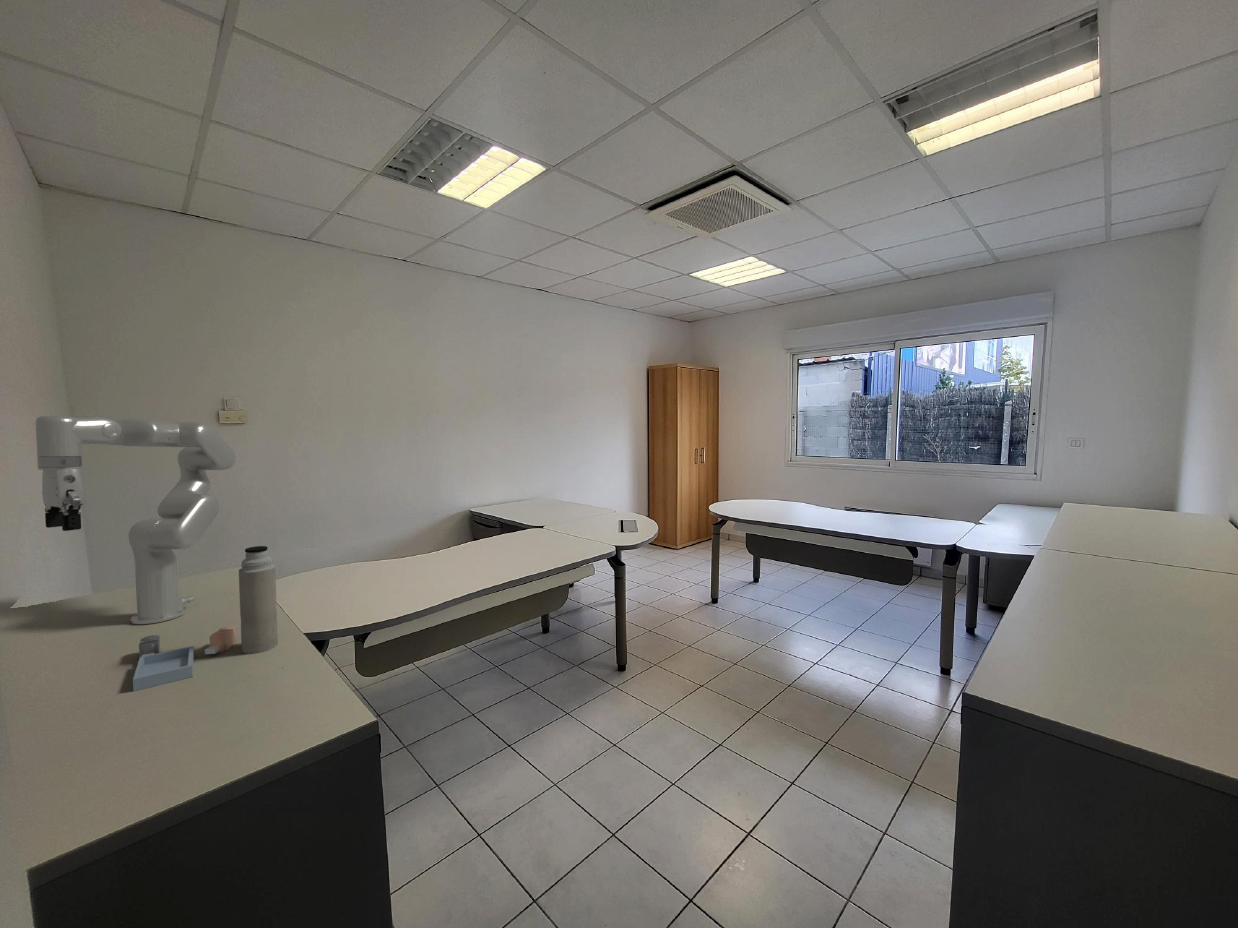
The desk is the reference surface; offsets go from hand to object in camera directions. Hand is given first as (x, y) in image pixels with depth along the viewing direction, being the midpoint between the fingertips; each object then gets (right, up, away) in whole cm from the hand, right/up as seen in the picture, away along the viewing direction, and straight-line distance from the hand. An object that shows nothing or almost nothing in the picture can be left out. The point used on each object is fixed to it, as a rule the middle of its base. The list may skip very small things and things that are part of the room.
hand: (63, 528), depth 124 cm
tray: (+34, -35, -8) cm, 49 cm away
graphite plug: (+23, -34, 0) cm, 41 cm away
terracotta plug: (+37, -34, +5) cm, 50 cm away
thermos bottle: (+47, -34, +7) cm, 58 cm away
